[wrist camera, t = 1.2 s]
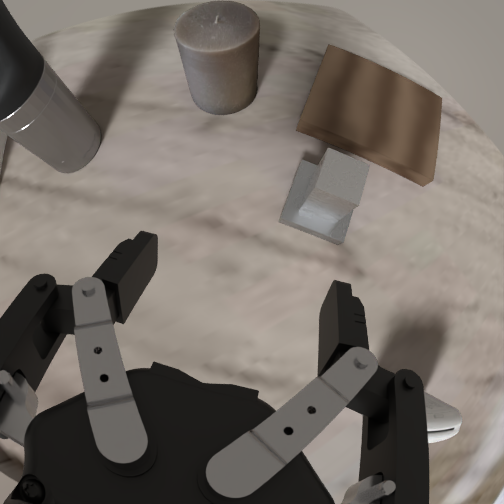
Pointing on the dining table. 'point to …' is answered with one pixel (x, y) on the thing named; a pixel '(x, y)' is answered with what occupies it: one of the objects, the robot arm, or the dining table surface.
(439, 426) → the photo printer
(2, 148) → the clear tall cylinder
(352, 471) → the dining table surface
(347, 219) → the block
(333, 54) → the walnut plinth
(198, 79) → the pillar candle
